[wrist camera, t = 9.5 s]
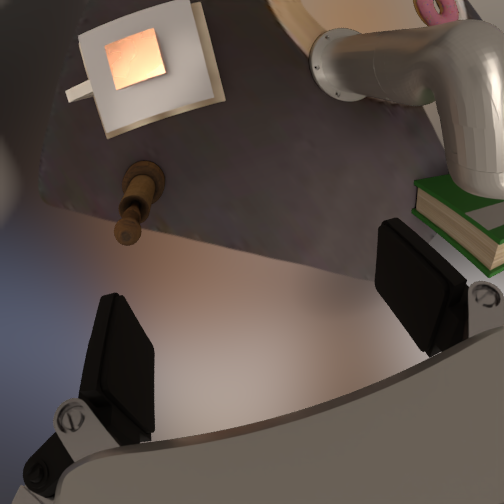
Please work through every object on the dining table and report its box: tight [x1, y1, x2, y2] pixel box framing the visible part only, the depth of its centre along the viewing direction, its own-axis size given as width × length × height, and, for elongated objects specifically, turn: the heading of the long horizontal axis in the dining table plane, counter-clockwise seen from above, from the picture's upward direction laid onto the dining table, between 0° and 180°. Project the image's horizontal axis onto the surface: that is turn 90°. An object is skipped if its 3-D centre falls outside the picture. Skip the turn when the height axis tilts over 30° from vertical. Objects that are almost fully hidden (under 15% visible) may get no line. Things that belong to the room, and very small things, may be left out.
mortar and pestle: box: [114, 161, 165, 246], centre depth 37 cm, size 7×6×18 cm
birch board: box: [79, 2, 226, 139], centre depth 35 cm, size 18×16×1 cm
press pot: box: [66, 0, 214, 133], centre depth 29 cm, size 15×11×15 cm
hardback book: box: [412, 174, 504, 278], centre depth 47 cm, size 18×7×24 cm, turn 98°
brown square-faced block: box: [104, 28, 168, 90], centre depth 26 cm, size 8×8×19 cm
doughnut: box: [413, 0, 459, 26], centre depth 33 cm, size 11×11×4 cm
